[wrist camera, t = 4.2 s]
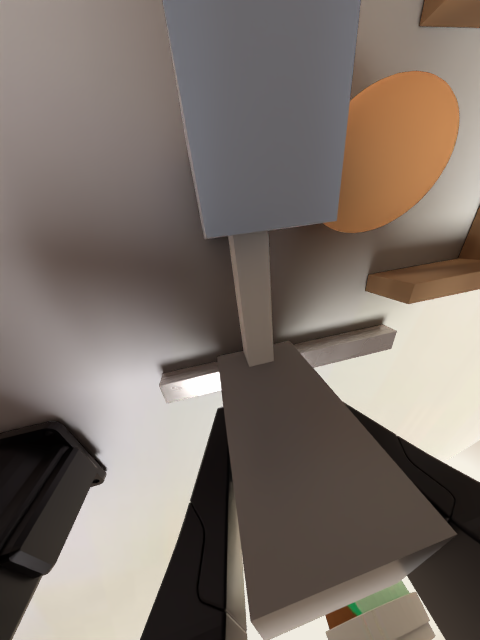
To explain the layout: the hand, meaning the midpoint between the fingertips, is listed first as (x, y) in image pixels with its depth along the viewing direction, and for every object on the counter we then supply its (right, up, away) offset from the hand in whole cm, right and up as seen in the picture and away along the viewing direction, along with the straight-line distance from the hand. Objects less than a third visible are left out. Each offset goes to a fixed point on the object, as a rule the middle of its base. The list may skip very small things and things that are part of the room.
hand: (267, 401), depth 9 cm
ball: (+3, +9, -2) cm, 10 cm away
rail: (+1, +2, +3) cm, 4 cm away
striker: (-1, +5, +1) cm, 5 cm away
